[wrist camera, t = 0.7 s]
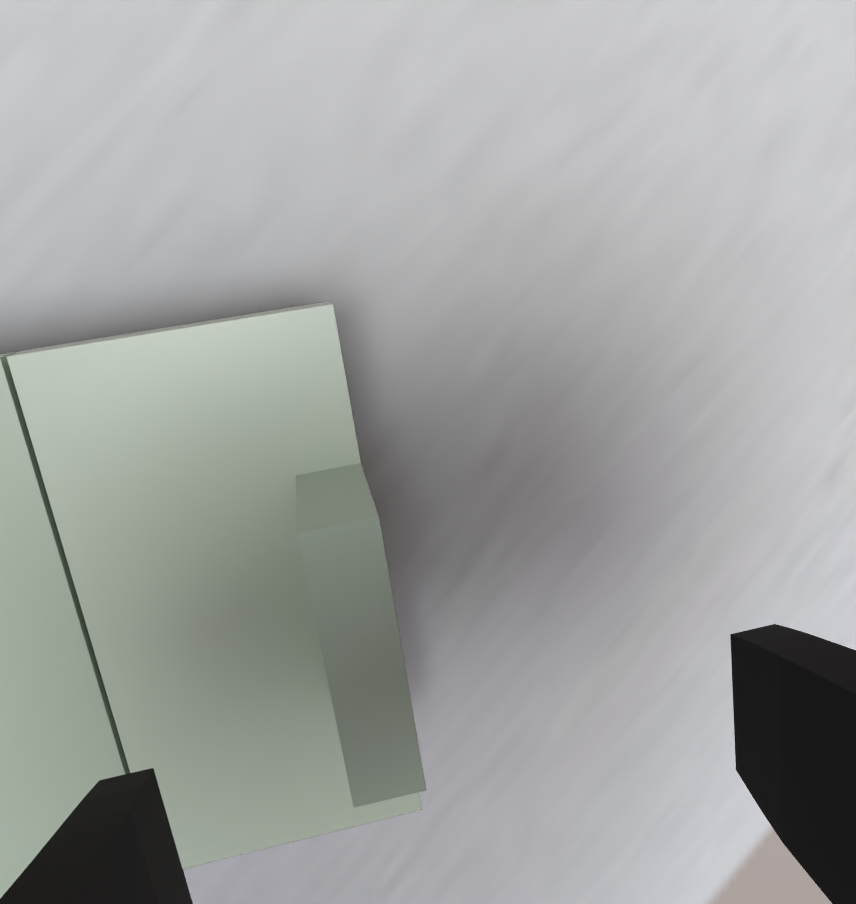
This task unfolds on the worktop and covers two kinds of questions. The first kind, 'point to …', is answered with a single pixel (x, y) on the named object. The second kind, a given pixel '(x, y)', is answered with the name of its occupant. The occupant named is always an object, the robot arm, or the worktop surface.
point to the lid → (196, 589)
